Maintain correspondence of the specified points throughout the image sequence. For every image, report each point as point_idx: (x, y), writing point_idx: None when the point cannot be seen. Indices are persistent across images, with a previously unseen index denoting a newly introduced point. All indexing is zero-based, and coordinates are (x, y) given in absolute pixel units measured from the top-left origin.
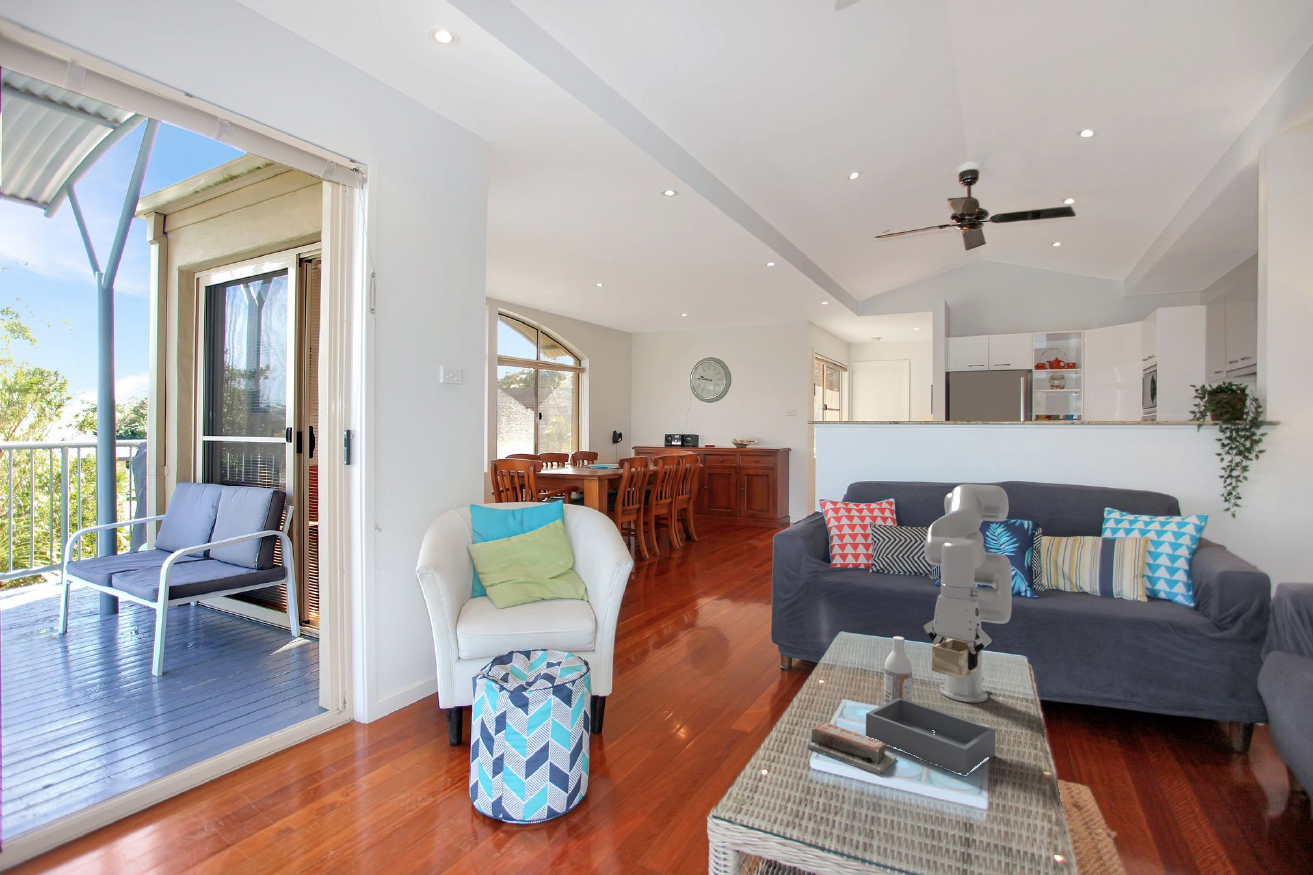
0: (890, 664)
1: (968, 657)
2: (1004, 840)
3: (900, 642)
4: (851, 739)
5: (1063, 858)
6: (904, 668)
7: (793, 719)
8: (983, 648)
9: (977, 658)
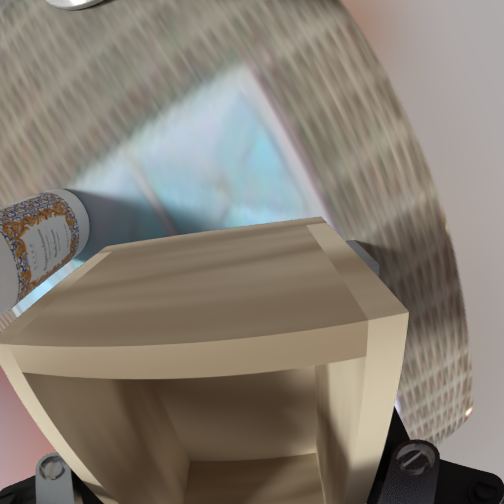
0: None
1: None
2: (425, 434)
3: None
4: None
5: (472, 408)
6: (5, 296)
7: None
8: (475, 470)
9: (397, 415)
